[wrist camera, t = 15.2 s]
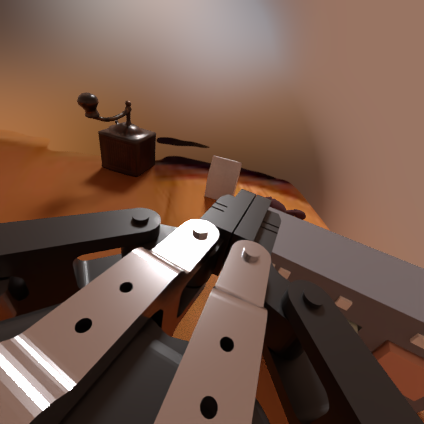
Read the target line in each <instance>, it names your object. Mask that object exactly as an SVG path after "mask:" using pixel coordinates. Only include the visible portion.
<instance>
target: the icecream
mask: <svg viewBox="0 0 424 424" xmlns="http://www.w3.org/2000/svg"><path fill="white" fill-rule="evenodd" d="M266 198H268V199H270V200H272V201H271V204H270V206H269V207H271V208H274V209H276V210H279V211H281V212H284V213H286V214H289V215H291V216H294V217H296V218H299V219H301V220H303V219H305V218H306V215H305V213H304V212H302V211H300V210H295V209H294V210H287V211H286V208H285V207H284V205H283V204H281V203H280V202H279V201H277V200H275V199H272V197H266Z"/></svg>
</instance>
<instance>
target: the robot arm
mask: <svg viewBox="0 0 424 424" xmlns="http://www.w3.org/2000/svg"><path fill="white" fill-rule="evenodd" d="M271 201H272V200H270V199H268V198H265V197H262V196H260V195H257V196H256V194H254V193H251V192H249V191H246V190H243V189H241V191H240V192H239V193H238V194H237V196H236V197H234V196H231V195H229V194H228V195H225V196H222V197H220V198H219V199H218V200H217V201H216V203H214V204H213V205H212V207H211V208H210V209H209V210H208V211H207V212H206V213H205V214H204V215H203V216H202V217H201V218H200V219H199V220H190V221H187V222H186V223H184V224H183V225H182V226H180V227H172V226H167V225H162V224H160V222H161V218H160V216H159V215H158V214H157V213H156V212H155V211H153V210H150V209H146V208H134V209H125V210H116V211H107V212H98V213H89V214H80V215H71V216H62V217H53V218H44V219H35V220H26V221H17V222H8V223H0V424H270V423H269V420H268V418H267V416H266V414H265V412H264V411H263V409H262V407H261V405H260V404H259V402H258V401H257V399H256V398H255V396H256V390H257V383H258V376H259V369H260V363H261V356H262V354H263V357H264V359H265V362H266V365H267V367H268V370H269V372H270V375H271V378H272V380H273V383H274V385H275V388H276V391H277V393H278V396H279V399H280V401H281V404H282V406H283V409H284V412H285V414H286V417H287V419H288V422H289V424H424V423H423V421H422V420H421V419H420V417H419V416H418V415H417V413H416V412H415V411H414V409H413V408H412V407H411V405H410V404H409V403H408V401H407V400H406V399H405V397H404V396H403V394H402V393H401V392H400V390H399V389H398V388H397V386H396V385H395V384H394V382H393V381H392V380H391V378H390V377H389V376H388V374H387V373H386V372H385V370H384V369H383V367H382V366H381V365H380V363H379V362H378V361H377V359H376V358H375V357H374V355H373V354H372V353H371V351H370V350H369V349H368V347H367V346H366V345H365V343H364V342H363V340H362V339H361V338H360V336H359V335H358V334H357V332H356V331H355V330H354V328H353V327H352V326H351V324H350V323H349V322H348V320H347V319H346V318H345V316H344V315H343V313H342V312H341V311H340V309H339V308H338V307H337V305H336V304H335V303H334V301H333V300H332V299H331V297H330V296H329V295H328V294H327V293H326V292H325V291H324V290H323V289H322V288H321V287H319V286H318V285H316V284H314V283H312V282H310V281H306V280H295V281H293V282H292V283H291V282H290V281H288V280H287V279H286V278H284V277H283V276H282V275H281V274H280V273H279V272H278V271H277V270H276V269H275V268H274V266H273V264H272V262H271V253H272V250H273V247H274V244H275V240H276V237H277V234H278V231H279V227H280V224H281V219H280V216H279V214H278V213H275V212H273V211H270V210H268V208H269V206H270V204H271ZM115 248H121V254H118V255H113V256H108V257H103V258H99V259H94V260H89V261H81V260H79V259H77V257H79V256H81V255H84V254H89V253H94V252H99V251H105V250H110V249H115ZM221 270H222V271H221ZM220 271H221V273H220ZM219 273H220V276H219V278H218V280H217V283H216V285H215V286H214V287H213V289H212V291H211V293H210V295H209V298H208V300H207V302H206V305H205V307H204V309H203V311H202V314H201V316H200V318H199V321H198V323H197V325H196V328H195V330H194V332H193V334H192V337H191V339H190V341H189V342H188V341H185V340H181V339H177V338H173V337H172V336H173V334H174V331H175V329H176V328H177V326H178V324H179V323H180V321H181V320H182V318H183V317H184V316H185V314H186V313H187V311H188V310H189V309H190V307H191V306H192V304H193V303H194V302H195V300H196V299H197V297H198V296H199V295H200V293H201V292H202V290H203V289H204V287H205V285H206V282H207V281H208V279H209V278H210V276H211V274H215V275H217V276H218V275H219Z"/></svg>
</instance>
